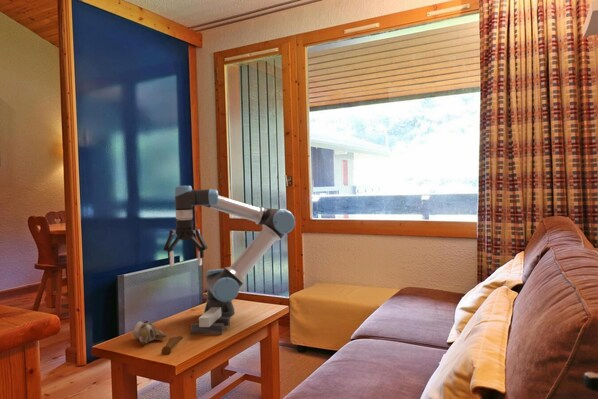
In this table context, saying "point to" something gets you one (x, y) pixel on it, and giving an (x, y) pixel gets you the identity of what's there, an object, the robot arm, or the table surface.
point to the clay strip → (210, 317)
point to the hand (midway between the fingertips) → (186, 265)
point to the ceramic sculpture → (147, 332)
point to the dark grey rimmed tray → (212, 327)
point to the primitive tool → (171, 345)
